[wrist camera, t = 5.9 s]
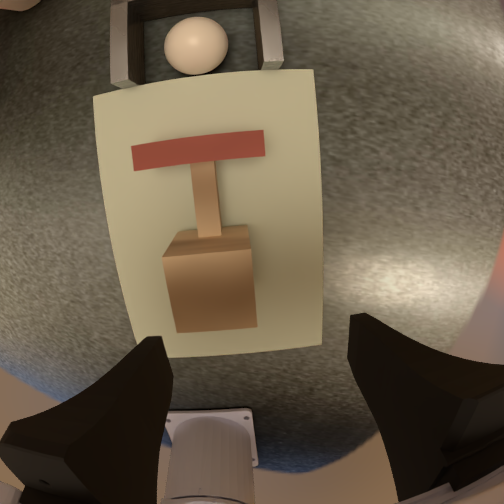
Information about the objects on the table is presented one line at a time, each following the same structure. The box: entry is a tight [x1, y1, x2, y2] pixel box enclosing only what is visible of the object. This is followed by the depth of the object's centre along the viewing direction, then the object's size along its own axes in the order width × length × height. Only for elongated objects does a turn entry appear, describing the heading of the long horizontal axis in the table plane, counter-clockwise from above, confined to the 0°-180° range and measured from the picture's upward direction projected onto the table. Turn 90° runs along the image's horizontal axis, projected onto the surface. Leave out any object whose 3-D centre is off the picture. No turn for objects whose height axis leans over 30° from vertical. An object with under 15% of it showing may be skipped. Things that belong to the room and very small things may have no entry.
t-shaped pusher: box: [131, 130, 265, 333], centre depth 16 cm, size 9×6×4 cm, turn 5°
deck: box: [93, 69, 323, 358], centre depth 19 cm, size 18×13×2 cm
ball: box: [164, 17, 228, 75], centre depth 15 cm, size 4×4×4 cm
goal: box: [110, 0, 284, 89], centre depth 15 cm, size 6×9×4 cm, turn 95°
